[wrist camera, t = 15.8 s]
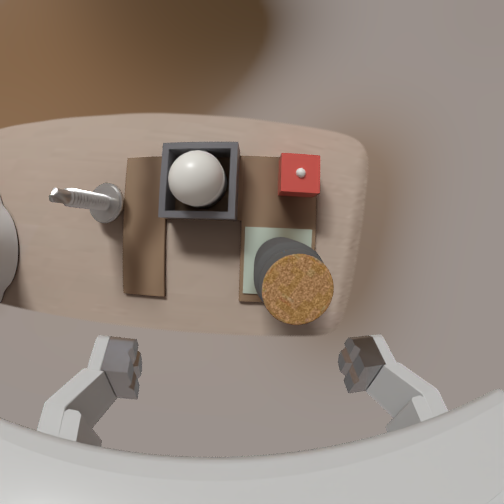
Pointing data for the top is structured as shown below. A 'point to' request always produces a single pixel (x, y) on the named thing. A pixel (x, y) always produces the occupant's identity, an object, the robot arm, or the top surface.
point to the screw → (92, 201)
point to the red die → (299, 175)
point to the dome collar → (217, 150)
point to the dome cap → (197, 179)
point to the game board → (249, 212)
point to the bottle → (292, 281)
